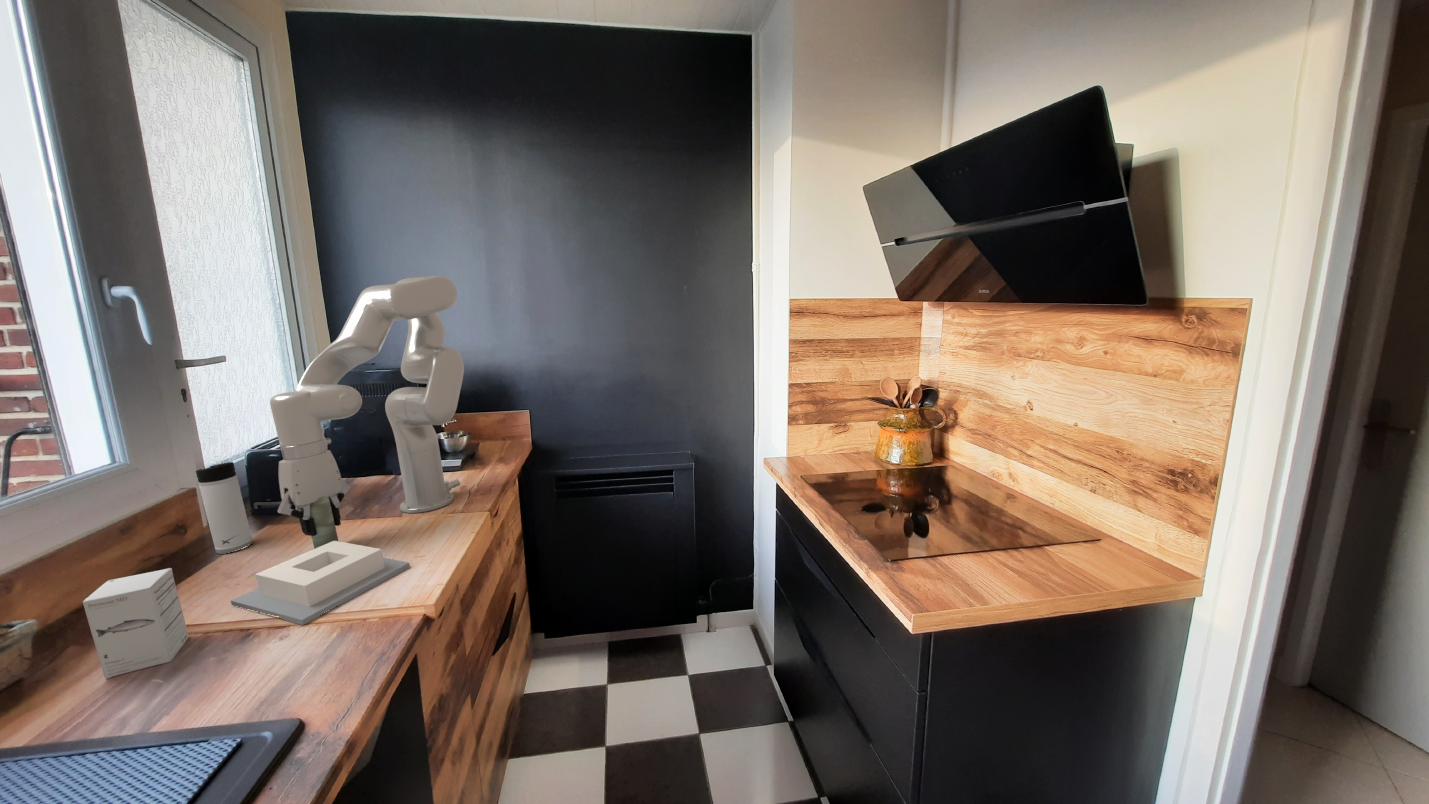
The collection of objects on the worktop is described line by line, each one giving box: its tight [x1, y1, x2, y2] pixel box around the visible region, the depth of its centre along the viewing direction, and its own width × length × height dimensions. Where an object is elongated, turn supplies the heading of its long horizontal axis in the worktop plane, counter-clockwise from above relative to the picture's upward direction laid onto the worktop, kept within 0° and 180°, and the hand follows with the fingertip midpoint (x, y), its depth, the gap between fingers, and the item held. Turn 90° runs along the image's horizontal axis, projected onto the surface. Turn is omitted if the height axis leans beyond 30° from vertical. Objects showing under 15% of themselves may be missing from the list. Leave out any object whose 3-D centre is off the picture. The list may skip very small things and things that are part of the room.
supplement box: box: [82, 567, 189, 680], centre depth 80 cm, size 7×7×13 cm
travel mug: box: [195, 461, 253, 555], centre depth 117 cm, size 6×7×20 cm
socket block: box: [230, 540, 411, 626], centre depth 100 cm, size 20×20×5 cm
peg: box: [310, 496, 340, 549], centre depth 114 cm, size 4×4×12 cm
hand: (322, 528), depth 115 cm, fingers closed on peg, 4 cm apart
